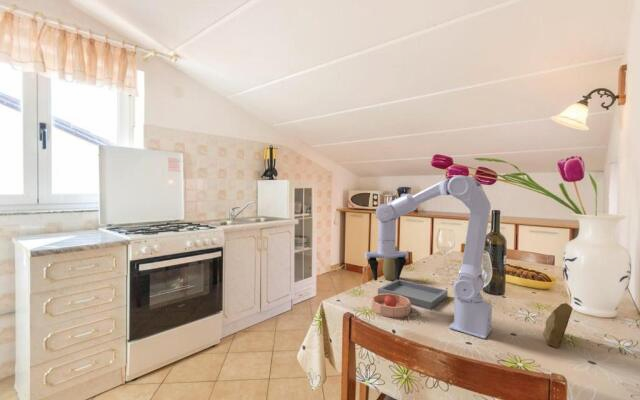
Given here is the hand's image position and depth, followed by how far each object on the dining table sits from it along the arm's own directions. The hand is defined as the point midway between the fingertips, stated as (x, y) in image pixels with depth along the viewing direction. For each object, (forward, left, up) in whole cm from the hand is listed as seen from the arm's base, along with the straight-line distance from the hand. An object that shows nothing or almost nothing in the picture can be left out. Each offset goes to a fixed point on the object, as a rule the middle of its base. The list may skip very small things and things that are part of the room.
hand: (386, 279), depth 104 cm
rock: (-45, -10, -10) cm, 47 cm away
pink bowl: (-3, +2, -9) cm, 10 cm away
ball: (-3, +2, -6) cm, 7 cm away
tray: (-3, -15, -9) cm, 18 cm away
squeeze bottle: (+13, -29, -9) cm, 34 cm away
